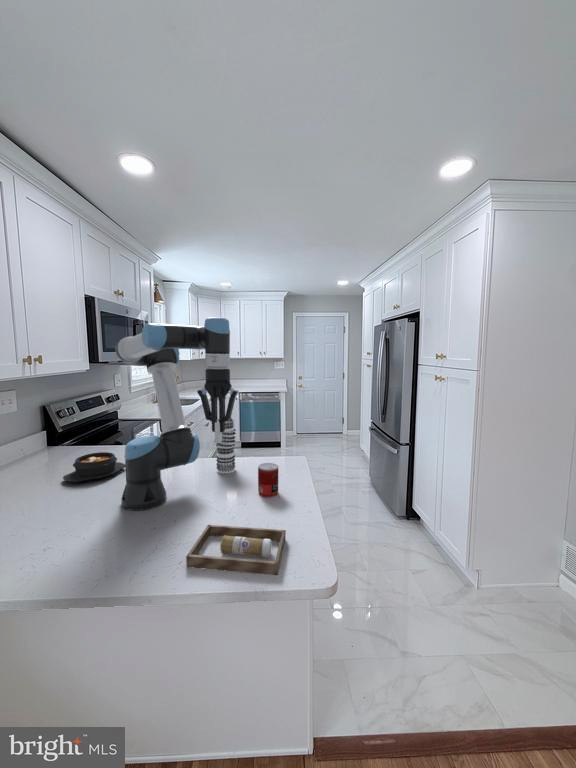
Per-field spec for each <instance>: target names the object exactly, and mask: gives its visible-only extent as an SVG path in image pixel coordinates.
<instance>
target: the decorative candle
mask: <svg viewBox="0 0 576 768" xmlns="http://www.w3.org/2000/svg"><path fill="white" fill-rule="evenodd" d="M217 421H219V418H218V420H217ZM234 421H235V420H234V419H233V418H232V417H231V418H230V419H229V420H227V421H225V431H224V432H222V441H221V442H220V443H215V444H216V445H215V446H216V448H217V452H216V457H215V459H216V472H217V473H219V474H224V473H226V474H232V473H234V472H235V471H236V462H235V461H236V459H235V457H236V455H235V446H236V444H235V442H236V440H235V439H236V436H234V435H236V434H237V433H236V428H235V425H234ZM231 472H232V473H231ZM224 475H225V474H224Z"/></svg>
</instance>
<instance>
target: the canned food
mask: <svg viewBox="0 0 576 768" xmlns="http://www.w3.org/2000/svg"><path fill="white" fill-rule="evenodd" d="M257 466H258V467H257V491H258V494H259V495H260V497H264V498H273V497H275V496H277V495H278V493H279V465H278V464H277V463H274V462H273V463H272V462H264V463H263V462H262V463H261V464H260V463H259V465H257Z"/></svg>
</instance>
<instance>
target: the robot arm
mask: <svg viewBox="0 0 576 768" xmlns="http://www.w3.org/2000/svg"><path fill="white" fill-rule="evenodd" d="M230 338H231V330H230V321H229V319H227V318H225V317H224V318H223V317H207V318H205V320H204V325H187V324H185V325H184V324H170V323H169V324H168V323H159V322H154V323H151V322H148V323H146V324H144V326H143V327H142V329H141V333H139V334H136V335H134V336H125V337H123V338H121V339H119V341H117V343H116V345H115V348H114V349H115V354H116V357H117V358H118V359H119V360H120V361H121V362H123V363H124V364H125V365H129V366H135V367H146V372H147V373H149V374H150V375H151V376H152V380H153V386H154V391H155V395H156V400H157V405H158V410H159V414H160V415H159V416H160V422H161V425H162V431H161V433H160V435H159V436H158V435H154V434H151V435H143V436H139V437H137V438H134V439H132V440H130V441H128V443H126V445H125V447H124V457H123V458H124V461H125V463H124V464H125V486H124V489H123V492H122V496H121V507H122V508H123V509H125V510H129V511H145V510H148V509H152V508H155V507H157V506H160V505H161V504H163V503H165V501H166V499H167V490H166V488H165V485H164V483H163V481H162V479H161V478H162V477H161V476H162V475H161V471H163V470H169V469H171V468H175V467H180V466H181V467H182V466H186V465H189V464H192V463H194V462H195V461H196V460H197V459H198V458H199V454H200V449H201V448H200V447H201V446H200V443H201V442H200V439H199V436H198V435H197V433H195V432H192V430H191V427H189V426H188V425H186V421H185V418H184V417H185V416H184V410H183V407H182V403H181V398H180V394H179V389H178V385H177V380H176V379H177V378H176V375H175V372H174V371H175V370H176V369H177V365H178V364H179V362H180V350H181V349H183V350H204V353H205V355H204V358H205V360H204V361H205V362H204V366H205V367H206V369H205V372H204V373H205V383H204V386H203V387H202V388H201V389H198V390H197V394H198V396H199V397H200V401H201V404H202V409H203V412H204V416H205V420H206V421H210V422H211V431H212V433H214V442H215V444H217V443H220V442H221V441H222V432H224V431H225V421H227V420H229V419H230V418H232V414H233V409H234V405H235V401H236V397H237V396H238V394H239V391H240V390H238V389H235V388H234V387H232V384H231V369H230V367H231V357H230V355H231V353H230V352H231V349H230V348H231V343H230V342H231V339H230ZM207 394H208V395H207ZM228 394H229V399H228V403H227V408H226V396H227V395H228ZM208 396H210V397H209V398H210V402H209V399H208ZM218 406H219V407H218ZM218 409H219V410H218ZM218 412H219V413H218ZM218 416H219V417H218ZM218 419H219V421H217V420H218Z"/></svg>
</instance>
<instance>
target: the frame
mask: <svg viewBox="0 0 576 768" xmlns="http://www.w3.org/2000/svg"><path fill="white" fill-rule="evenodd" d="M286 531H287V530H285V529H275V528H274V529H273V528H260V527H248V526H247V527H246V526H245V527H244V526H234V525H232V526H230V525H220V524H218V525H217V524H207V525H206V527H205V528H204V530H203V532H202V533H201V534H200V536H199V537H198V539H197V540H196V541H195V543H194V544H193V546H192V547H191V549H190V550H189V551H188V553H187V554H186V558H185V562H186V568H190V567H194V568H193V569H201V568H205V569H204V570H212V569H217V571H224V570H226V571H225V572H235V571H236V573H249V574H257V573H258V574H260V575H269V576H278V575H279V570H280V566H281V562H282V557H283V553H284V549H285V543H286V535H287V534H286ZM224 535H226V536H235V537H236V536H238V537H247V538H256V539H271V541H273V542H274V541H275V542H279V544H278V546H277V547H278V548H277V551H276V556H275V558H274V559H275V560H261V559H259V560H258V559H249V558H237V557H235V558H234V557H227V556H226V557H225V556H213V555H202V554H201V555H200V554H199V553H200V552H201V550H202V549H203V548H204V546H205V544H206V543H207V541H208V540H209V538H210V536H212V537H220V536H224Z"/></svg>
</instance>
